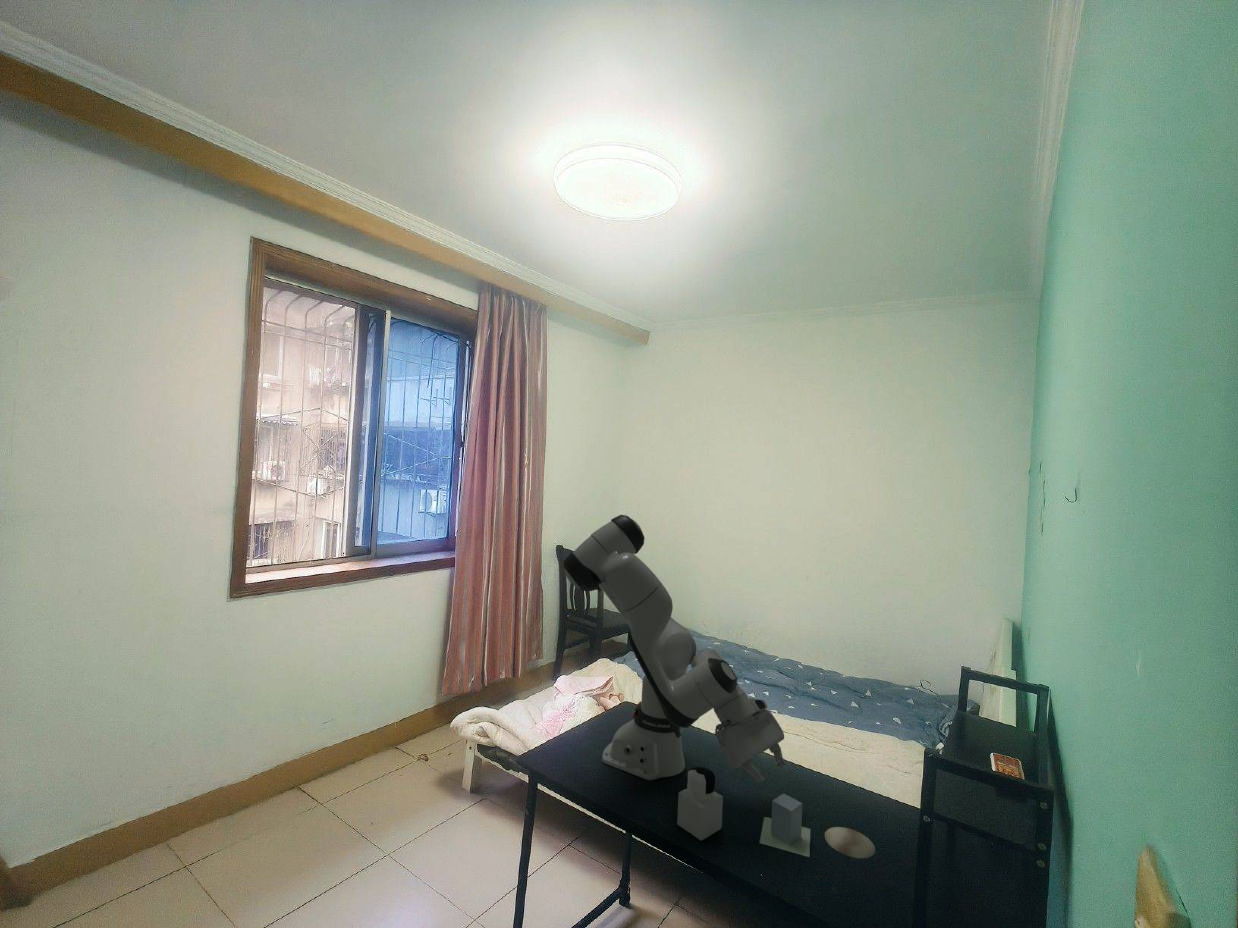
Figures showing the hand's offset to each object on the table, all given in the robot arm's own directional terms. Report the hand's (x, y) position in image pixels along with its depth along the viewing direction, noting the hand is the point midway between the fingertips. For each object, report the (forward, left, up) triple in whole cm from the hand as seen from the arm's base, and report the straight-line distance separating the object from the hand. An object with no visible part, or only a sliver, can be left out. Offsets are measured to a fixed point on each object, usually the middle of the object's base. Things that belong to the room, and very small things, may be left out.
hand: (772, 773), depth 120 cm
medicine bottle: (-15, -8, -11) cm, 20 cm away
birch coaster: (+16, +1, -11) cm, 20 cm away
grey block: (+4, -3, -11) cm, 12 cm away
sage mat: (+3, -3, -11) cm, 12 cm away
